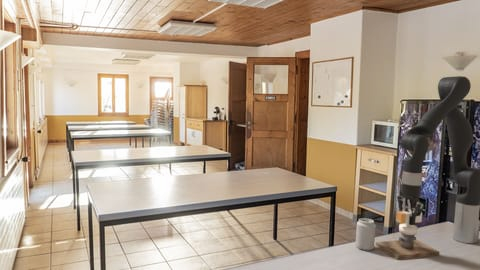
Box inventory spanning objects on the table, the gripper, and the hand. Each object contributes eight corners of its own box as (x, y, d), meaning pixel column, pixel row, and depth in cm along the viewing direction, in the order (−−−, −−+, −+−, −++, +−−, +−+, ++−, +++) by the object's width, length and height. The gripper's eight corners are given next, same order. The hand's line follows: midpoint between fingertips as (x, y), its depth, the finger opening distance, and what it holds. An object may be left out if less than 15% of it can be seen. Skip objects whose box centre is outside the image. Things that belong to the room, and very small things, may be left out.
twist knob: (412, 228, 162) (413, 209, 161) (424, 234, 155) (425, 214, 154) (392, 230, 159) (393, 210, 158) (403, 236, 152) (404, 215, 152)
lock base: (414, 242, 167) (416, 225, 166) (439, 255, 154) (440, 237, 153) (375, 245, 162) (376, 228, 161) (397, 259, 148) (398, 240, 148)
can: (370, 244, 163) (371, 217, 162) (376, 251, 156) (378, 223, 155) (352, 244, 163) (354, 217, 162) (358, 251, 156) (360, 222, 154)
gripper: (432, 186, 149) (428, 228, 151) (407, 178, 163) (404, 217, 164) (416, 186, 147) (413, 229, 149) (392, 179, 161) (389, 218, 162)
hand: (408, 223), depth 157 cm, fingers closed on twist knob, 3 cm apart
